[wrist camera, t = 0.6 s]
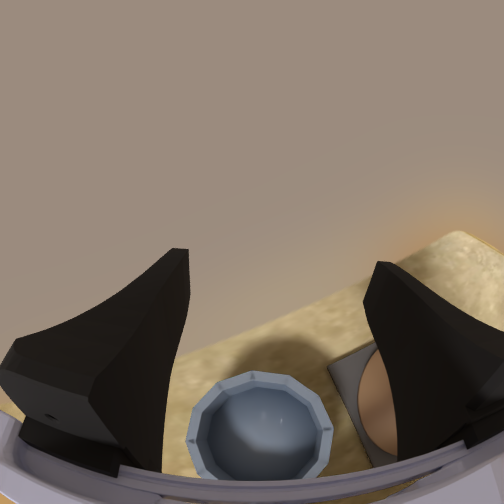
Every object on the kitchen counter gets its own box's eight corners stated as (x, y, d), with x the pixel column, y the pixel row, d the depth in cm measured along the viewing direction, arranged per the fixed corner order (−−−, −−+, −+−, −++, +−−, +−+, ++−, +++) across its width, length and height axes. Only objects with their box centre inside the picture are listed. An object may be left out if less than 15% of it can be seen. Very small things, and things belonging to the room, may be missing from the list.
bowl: (341, 463, 20) (353, 469, 16) (225, 503, 18) (214, 516, 15) (296, 363, 26) (299, 351, 22) (187, 401, 24) (170, 395, 21)
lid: (485, 407, 19) (512, 399, 15) (387, 481, 17) (407, 489, 13) (435, 311, 26) (456, 290, 22) (334, 368, 25) (345, 355, 21)
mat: (486, 409, 19) (489, 408, 19) (382, 487, 17) (384, 488, 17) (434, 308, 27) (436, 305, 26) (326, 367, 25) (327, 365, 25)
